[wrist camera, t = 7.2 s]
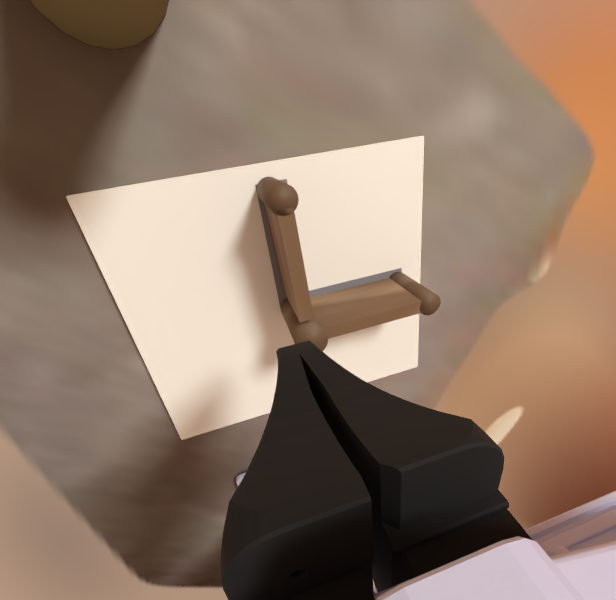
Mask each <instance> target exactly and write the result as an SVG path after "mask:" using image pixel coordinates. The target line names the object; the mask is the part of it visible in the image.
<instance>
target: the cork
mask: <svg viewBox="0 0 616 600" xmlns="http://www.w3.org/2000/svg"><path fill="white" fill-rule="evenodd" d="M30 1H31V2H32V4H33V5H34V6H35V7H36V8H37V10H38V11H39V12H40V13H41V14H42V15H44V16H45V17H46V18H47V19H48V20H50V21H51V22H52V23H53V24H54V25H56V26H57V27H58V28H59V29H60V30H62V31H63V32H64V33H66V34H68V35H70V36H72V37H74V38H76V39H78V40H80V41H82V42H84V43H86V44H88V45H91V46H97V47H103V48H109V49H114V50H115V49H120V48H125V47H130V46H136V45H138V44H139V43H141V42H142V41H143V40H145V39H146V38H148V37H149V36H151V35H152V34H154V32H155V31H156V29H157V27H158V26H159V24H160V23H161V21H162V19H163V18H164V16H165V15H166V11H167V6H168V2H169V0H30Z"/></svg>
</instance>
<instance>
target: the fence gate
mask: <svg viewBox="0 0 616 600" xmlns="http://www.w3.org/2000/svg"><path fill="white" fill-rule="evenodd" d="M256 191H257V195H258V197H259V198H260V199H261V200H262V202H263V203H264V204H265V207H266V211H267V216H268V220H269V225H270V229H271V234H272V238H273V243H274V247H275V252H276V256H277V261H278V265H279V270H280V274H281V279H282V283H283V287H284V292H285V295H286V297H287V299H288V301H289V303H290V304H291V306H292V308H293V310H294V312H295V314H296V316H297V318H298V320H299V322H300V323H301V322H304V321H308V320H311V319H314V316H313V311H312V305H311V300H310V295H309V289H308V284H307V278H306V273H305V267H304V262H303V256H302V251H301V245H300V240H299V234H298V229H297V223H296V218H295V213H294V211H295V210H296V208H297V206H298V201H299V199H298V194H297V192H296V190H295V189H294V188H293V187H292V186H290V185H288V184H286V183H284V182H282V181H280V180H277V179H275V178H273V177H264V178H262V179H261V180H260V181H259V182H258V184H257V188H256Z"/></svg>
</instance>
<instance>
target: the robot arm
mask: <svg viewBox="0 0 616 600" xmlns="http://www.w3.org/2000/svg"><path fill="white" fill-rule="evenodd" d="M276 354H277V359H278V373H277V383H276V389H275V394H274V399H273V404H272V408H271V412H270V415H269V418H268V422H267V425H266V428H265V430H264V433H263V436H262V439H261V441H260V444H259V446H258V448H257V450H256V453H255V455H254V457H253V459H252V461H251V463H250V465H249V468H248V470H247V472H245V473H242V474H240V475H238V476H237V478H236V483H237V486H238V488H237V489H236V491H235V493H234V495H233V496H232V498H231V500H230V502H229V506H228V511H227V516H226V520H225V526H224V532H223V539H222V550H221V571H222V584H223V590H224V592H225V594H226V596H227V598H228V600H616V491H614V492H612V493H609V494H607V495H605V496H603V497H600V498H598V499H595V500H593V501H591V502H588V503H586V504H584V505H581V506H579V507H577V508H574V509H572V510H570V511H567V512H565V513H563V514H561V515H558V516H556V517H553V518H551V519H549V520H546V521H544V522H542V523H539V524H537V525H535V526H532V527H530V528H528V529H525V530H524V529H523V528H522V526H521V525H520V524H519V523H518V522H517V520H516V519H515V518H514V517H513V516H512V514H511V513H510V512H509V511H508V510H507V508H508V507H509V503H508V501H507V500H506V499H505V497H504V496H503V495H502V494H501V493H500V491H499V490H498V487H499V483H500V479H501V475H502V471H503V464H504V456H503V452H502V450H501V448H500V447H499V446H498V445H497V444H496V443H495V442H494V441H493V440H492V439H491V438H490V437H489V436H488V435H487V434H486V433H485V432H484V431H483V430H482V429H481V428H480V427H479V426H478V425H477V424H475V423H474V422H473V421H472V420H471V419H467V418H463V417H459V416H455V415H451V414H447V413H443V412H439V411H436V410H432V409H429V408H426V407H423V406H420V405H417V404H414V403H411V402H409V401H406V400H403V399H401V398H399V397H396V396H394V395H391V394H389V393H387V392H385V391H382V390H380V389H378V388H376V387H375V386H373V385H371V384H369V383H367V382H365V381H363V380H362V379H360V378H359V377H357V376H355V375H354V374H352V373H351V372H349V371H348V370H346V369H345V368H343V367H342V366H341V365H339V364H338V363H337V362H335V361H334V360H333V359H331V358H330V357H329V356H327V355H326V354H325V353H324V352H323V351H321V350H320V349H319V348H318V347H317V346H316V345H314V344H313V343H312V342H311V341H305V342H301V343H297V344H294V345H290V346H286V347H282V348H278V350H277V351H276ZM373 580H374V583H375V588H374V589H373Z"/></svg>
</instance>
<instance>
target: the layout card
mask: <svg viewBox="0 0 616 600" xmlns="http://www.w3.org/2000/svg"><path fill="white" fill-rule="evenodd" d="M423 159H424V136H417V137H411V138H406V139H400V140H394V141H388V142H382V143H376V144H370V145H364V146H358V147H352V148H346V149H340V150H334V151H328V152H322V153H316V154H310V155H304V156H298V157H293V158H287V159H281V160H275V161H269V162H263V163H257V164H251V165H245V166H239V167H233V168H227V169H221V170H215V171H209V172H203V173H197V174H191V175H185V176H180V177H174V178H168V179H162V180H156V181H150V182H144V183H138V184H132V185H126V186H120V187H114V188H108V189H102V190H96V191H90V192H84V193H78V194H72V195H68V196H66V198H67V200H68V202H69V204H70V207H71V209H72V211H73V213H74V215H75V217H76V219H77V221H78V223H79V226H80V228H81V230H82V232H83V234H84V236H85V238H86V240H87V242H88V244H89V247H90V249H91V251H92V253H93V255H94V257H95V259H96V261H97V263H98V265H99V268H100V270H101V272H102V274H103V276H104V278H105V280H106V282H107V284H108V287H109V289H110V291H111V293H112V295H113V297H114V299H115V301H116V303H117V305H118V308H119V310H120V312H121V314H122V316H123V318H124V320H125V322H126V324H127V326H128V329H129V331H130V333H131V335H132V337H133V339H134V341H135V343H136V345H137V348H138V350H139V352H140V354H141V356H142V358H143V360H144V362H145V364H146V366H147V369H148V371H149V373H150V375H151V377H152V379H153V381H154V383H155V385H156V388H157V390H158V392H159V394H160V396H161V398H162V400H163V402H164V404H165V406H166V409H167V411H168V413H169V415H170V417H171V419H172V421H173V423H174V425H175V427H176V430H177V432H178V434H179V436H180V438H181V440H184V439H187V438H190V437H193V436H196V435H200V434H203V433H206V432H209V431H212V430H216V429H219V428H222V427H225V426H229V425H232V424H235V423H238V422H241V421H245V420H248V419H251V418H254V417H257V416H261V415H264V414H267V413H270V412H271V408H272V404H273V399H274V394H275V389H276V383H277V373H278V359H277V354H276V351H277V350H278V348H282V347H286V346H290V345H294V344H295V343H294V340H293V338H292V336H291V333H290V331H289V329H288V326H287V324H286V322H285V319H284V317H283V315H282V312H281V304H282V302H283V300H284V299H285V298H287V297H286V295H285V292H284V287H283V283H282V279H281V274H280V270H279V265H278V261H277V256H276V252H275V247H274V243H273V238H272V234H271V229H270V225H269V220H268V216H267V211H266V207H265V204H264V203H263V202H262V200H261V199H260V198H259V197H258V195H257V191H256V188H257V184H258V182H259V181H260V180H261V179H262V178H264V177H273V178H275V179H277V180H280V181H282V182H284V183H286V184H288V185H290V186H292V187H293V188H294V189H295V190H296V192H297V194H298V199H299V201H298V206H297V208H296V210H295V211H294V213H295V218H296V223H297V229H298V234H299V240H300V245H301V251H302V256H303V262H304V267H305V273H306V278H307V284H308V289H309V295H310V297H314V296H318V295H322V294H326V293H330V292H334V291H338V290H342V289H346V288H350V287H354V286H358V285H362V284H366V283H370V282H374V281H378V280H382V279H386V278H389V277H390V276H391V275H392V274H393V273H395V272H402V273H404V274H405V275H407V276H408V277H410V278H411V279H413V280H415V281H416V282H418V283H419V284H420V265H421V229H422V194H423ZM418 335H419V314H416V315H412V316H409V317H405V318H401V319H398V320H394V321H391V322H387V323H383V324H380V325H376V326H373V327H369V328H366V329H362V330H358V331H355V332H351V333H348V334H344V335H340V336H337V337H333V338H330V339H328V344H327V346H326V348H325V349H324V350H323V352H324V353H325V354H326V355H327V356H329V357H330V358H331V359H333V360H334V361H335V362H337V363H338V364H339V365H341V366H342V367H343V368H345V369H346V370H348V371H349V372H351V373H352V374H354V375H355V376H357V377H359V378H360V379H362V380H363V381H365V382H370V381H373V380H376V379H379V378H383V377H386V376H389V375H392V374H395V373H399V372H402V371H405V370H408V369H411V368H415V367H418Z"/></svg>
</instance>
